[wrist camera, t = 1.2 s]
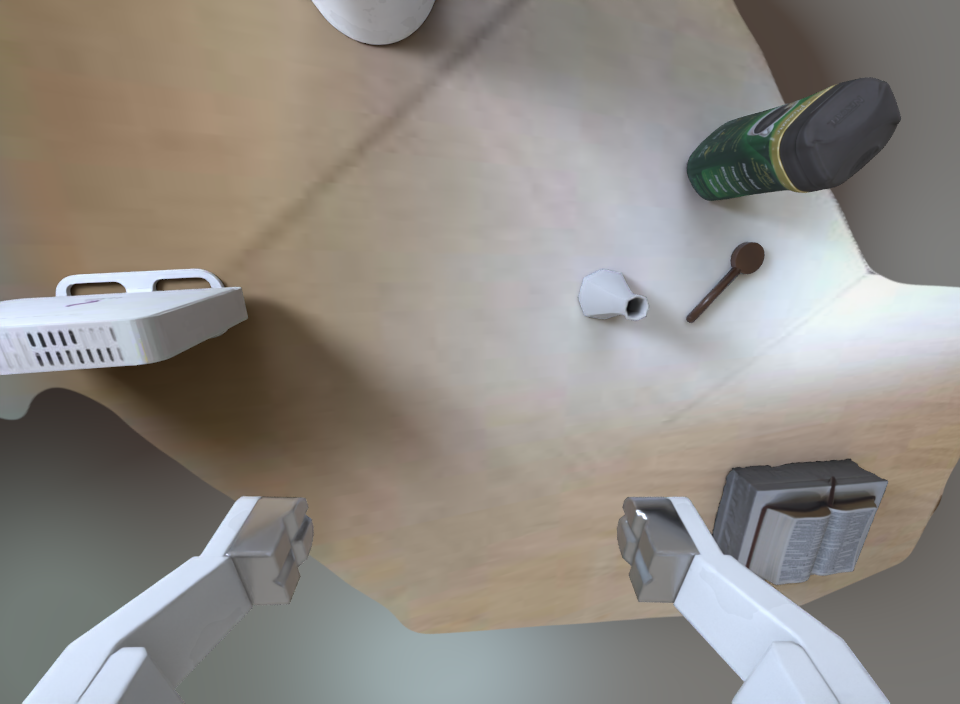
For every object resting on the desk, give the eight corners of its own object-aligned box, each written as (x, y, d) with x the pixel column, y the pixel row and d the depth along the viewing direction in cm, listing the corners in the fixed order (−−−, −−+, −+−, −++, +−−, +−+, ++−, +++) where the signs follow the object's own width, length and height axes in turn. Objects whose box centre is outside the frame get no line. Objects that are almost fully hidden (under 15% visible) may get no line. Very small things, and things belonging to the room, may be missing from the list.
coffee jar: (704, 211, 55) (834, 205, 37) (674, 164, 52) (798, 134, 35) (762, 160, 54) (924, 129, 36) (734, 109, 51) (893, 49, 34)
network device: (248, 266, 50) (138, 290, 31) (263, 333, 52) (169, 394, 34) (21, 277, 47) (-252, 311, 28) (48, 347, 50) (-184, 422, 31)
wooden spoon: (694, 329, 60) (699, 331, 59) (676, 311, 59) (681, 313, 58) (764, 255, 58) (771, 256, 57) (747, 235, 57) (754, 235, 55)
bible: (738, 442, 67) (788, 477, 58) (866, 460, 72) (931, 495, 63) (691, 553, 74) (728, 600, 64) (811, 562, 78) (862, 608, 69)
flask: (578, 322, 57) (607, 341, 48) (576, 271, 55) (607, 281, 46) (626, 315, 58) (664, 333, 49) (626, 265, 56) (667, 273, 46)
